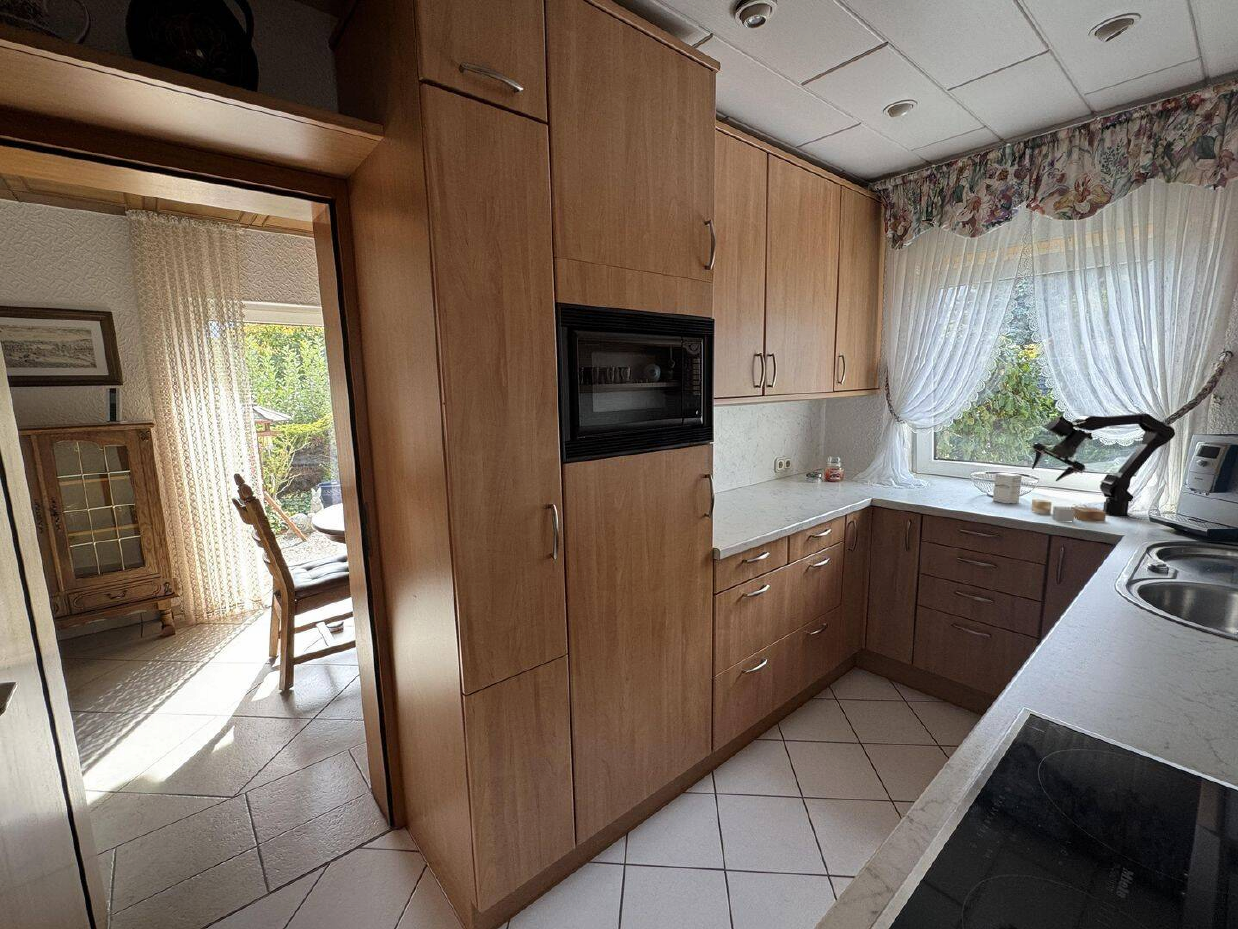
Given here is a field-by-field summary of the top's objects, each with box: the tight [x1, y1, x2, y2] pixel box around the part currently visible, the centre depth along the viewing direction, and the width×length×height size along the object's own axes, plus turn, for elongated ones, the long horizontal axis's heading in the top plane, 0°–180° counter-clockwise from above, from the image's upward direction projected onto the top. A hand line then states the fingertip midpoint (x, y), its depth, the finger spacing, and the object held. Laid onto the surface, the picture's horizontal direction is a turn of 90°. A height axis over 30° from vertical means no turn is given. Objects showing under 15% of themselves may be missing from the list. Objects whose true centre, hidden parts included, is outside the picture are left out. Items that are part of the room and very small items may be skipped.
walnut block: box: [1070, 506, 1107, 522], centre depth 218 cm, size 8×8×4 cm
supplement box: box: [992, 472, 1023, 504], centre depth 248 cm, size 7×7×13 cm
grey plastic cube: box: [1051, 505, 1075, 523], centre depth 215 cm, size 5×5×5 cm
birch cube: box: [1030, 498, 1052, 515], centre depth 229 cm, size 5×5×5 cm
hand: (1043, 475), depth 228 cm, fingers open, 9 cm apart
